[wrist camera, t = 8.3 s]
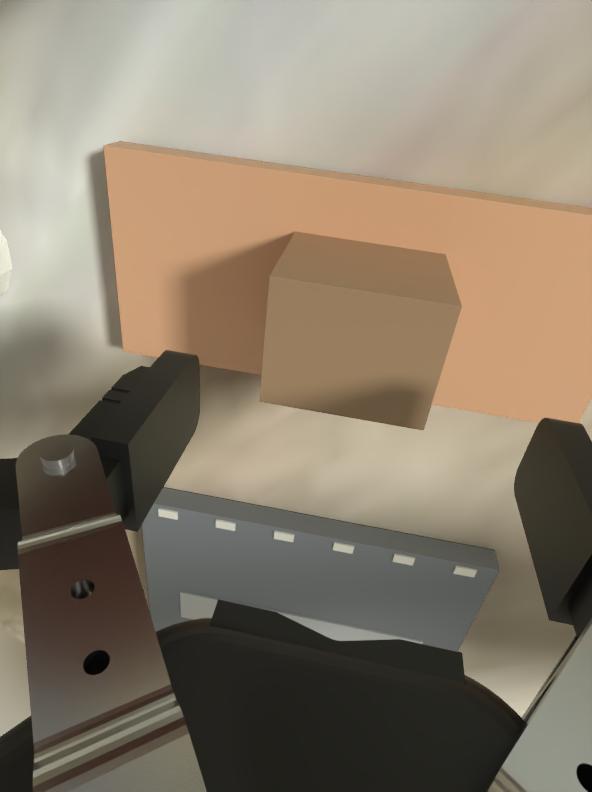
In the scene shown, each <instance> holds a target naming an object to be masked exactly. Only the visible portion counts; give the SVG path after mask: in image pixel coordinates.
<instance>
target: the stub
mask: <svg viewBox="0 0 592 792" xmlns="http://www.w3.org/2000/svg"><path fill="white" fill-rule="evenodd" d="M103 146H104V156H105V167H106V177H107V187H108V198H109V208H110V219H111V229H112V239H113V250H114V260H115V270H116V281H117V291H118V302H119V312H120V322H121V333H122V343H123V352H129V353H135V354H141V355H147V356H153V357H158V358H159V357H160V355H161V354H162V353H163V352H164V351H165V350H170V351H176V352H182V353H188V354H193V355H197V356H198V358H199V365H205V366H211V367H216V368H222V369H228V370H234V371H240V372H246V373H251V374H257V375H262V378H261V391H260V402H265V403H271V404H277V405H282V406H288V407H294V408H299V409H305V410H311V411H316V412H322V413H328V414H333V415H339V416H345V417H351V418H356V419H362V420H368V421H373V422H379V423H385V424H390V425H396V426H402V427H407V428H413V429H419V430H424V427H425V424H426V421H427V417H428V414H429V411H430V408H431V405H437V406H443V407H449V408H455V409H461V410H467V411H472V412H478V413H484V414H490V415H496V416H501V417H507V418H513V419H519V420H525V421H531V422H536V423H539V422H540V421H541V420H542V419H543V418H552V419H557V420H563V421H569V422H575V423H579V421H580V419H581V417H582V415H583V413H584V412H585V410H586V408H587V406H588V404H589V402H590V400H591V398H592V208H586V207H579V206H572V205H565V204H558V203H551V202H544V201H537V200H530V199H523V198H516V197H509V196H502V195H495V194H488V193H481V192H474V191H467V190H460V189H453V188H446V187H439V186H431V185H424V184H417V183H410V182H403V181H396V180H389V179H382V178H375V177H368V176H361V175H354V174H347V173H340V172H333V171H326V170H319V169H312V168H305V167H298V166H291V165H284V164H277V163H270V162H263V161H256V160H249V159H241V158H234V157H227V156H220V155H213V154H206V153H199V152H192V151H185V150H178V149H171V148H164V147H157V146H150V145H143V144H136V143H129V142H122V141H119V142H115V143H111V144H107V145H103Z"/></svg>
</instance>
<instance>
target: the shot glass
mask: <svg viewBox="0 0 592 792" xmlns="http://www.w3.org/2000/svg"><path fill="white" fill-rule="evenodd" d="M11 272H12V264H11V259H10V254H9V249H8V244H7V241H6V239H5V237H4V235H3V234H2V232H1V230H0V297H1V296H2V295H3V294H4V293H5V292H6V291H7V290H8V286H9V281H10V277H11Z"/></svg>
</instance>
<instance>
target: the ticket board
mask: <svg viewBox="0 0 592 792" xmlns="http://www.w3.org/2000/svg"><path fill="white" fill-rule="evenodd" d="M142 532H143V543H144V554H145V564H146V575H147V586H148V596H149V607H150V615H151V619H152V622H153V625H154V629H155V632H156V631H158V630H160V629H163V628H165V627H168V626H170V625H173V624H176V623H180V622H184V621H187V620H194V619H200V618H212V616H213V613H214V610H215V607H216V604H217V601H218V599H219V600H224V601H228V602H233V603H238V604H242V605H247V606H251V607H256V608H260V609H265V610H269V611H274V612H277V613H279V614H281V615H283V616H285V617H287V618H289V619H291V620H294V621H296V622H298V623H300V624H302V625H304V626H306V627H308V628H310V629H312V630H314V631H316V632H318V633H320V634H322V635H324V636H326V637H328V638H331V639H333V640H337V641H358V640H391V639H401V640H406V641H410V642H415V643H420V644H424V645H429V646H433V647H438V648H442V649H447V650H451V651H456V652H457V651H458V649H459V647H460V645H461V643H462V641H463V639H464V637H465V635H466V634H467V632H468V630H469V628H470V626H471V624H472V622H473V620H474V618H475V616H476V614H477V612H478V610H479V608H480V606H481V605H482V603H483V601H484V599H485V597H486V595H487V593H488V591H489V589H490V587H491V585H492V583H493V581H494V579H495V577H496V575H497V574H498V572H499V567H498V562H497V558H496V553H495V550H490V549H485V548H479V547H474V546H469V545H464V544H458V543H453V542H448V541H443V540H437V539H432V538H427V537H422V536H416V535H411V534H406V533H401V532H395V531H390V530H385V529H379V528H374V527H369V526H364V525H358V524H353V523H348V522H343V521H337V520H332V519H327V518H322V517H316V516H311V515H306V514H301V513H295V512H290V511H285V510H280V509H274V508H269V507H264V506H259V505H253V504H248V503H243V502H238V501H232V500H227V499H222V498H217V497H211V496H206V495H201V494H195V493H190V492H185V491H180V490H174V489H169V488H164V487H163V488H162V490H161V492H160V494H159V495H158V497H157V499H156V500H155V502H154V504H153V506H152V507H151V509H150V511H149V513H148V514H147V516H146V518H145V520H144V521H143V523H142Z"/></svg>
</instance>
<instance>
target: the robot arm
mask: <svg viewBox="0 0 592 792" xmlns="http://www.w3.org/2000/svg"><path fill="white" fill-rule="evenodd" d="M199 413H200V365H199V358H198V356H197V355H193V354H188V353H182V352H176V351H170V350H165V351H164V352H163V353H162V354H161V355H160V357H159V358H158V359H157V360H156V361H155V362H154V364H153V365H152V366H151V367H144V366H140V367H138V368H136V369H134V370H132V371H130V372H129V373H127V374H125V375H123V376H122V377H121V378H120V379H119V380H118V381H117V382H116V383H115V385H114V386H113V387H112V389H111V390H109V391H108V392H107V393H106V394H105V395H104V396H103V398H102V401H99V402H98V403H97V404H96V405H95V406H94V407H93V408H92V409H91V411H90V412H89V413H88V414H87V415H86V416H85V417H84V418H83V419H82V420H81V421H80V423H79V424H78V425H77V426H76V427H75V428H74V429H73V430H72V431H71V432H70V433H69V434H68V435H56V436H51V437H47V438H44V439H41V440H39V441H37V442H35V443H33V444H31V445H30V446H28V447H27V448H26V449H24V450H23V451H22V452H21V453H20V455H19V456H18V458H13V459H0V570H8V569H19V572H20V585H21V597H22V609H23V621H24V633H25V645H26V657H27V668H28V682H29V693H30V706H31V716H30V717H28V718H27V719H25V720H24V721H23V722H21V723H20V724H18V725H17V726H15V727H14V728H13V729H11V730H10V731H8V732H7V733H6V734H4V735H3V736H1V737H0V792H592V441H591V440H590V438H589V436H588V434H587V432H586V430H585V428H584V427H583V425H582V424H580V423H575V422H569V421H563V420H557V419H552V418H543V419H542V420H541V421H540V422H539V424H538V426H537V428H536V430H535V432H534V434H533V436H532V439H531V441H530V443H529V445H528V447H527V450H526V452H525V454H524V456H523V458H522V461H521V463H520V465H519V467H518V470H517V473H516V477H515V483H514V492H515V498H516V501H517V505H518V509H519V512H520V516H521V519H522V523H523V527H524V530H525V534H526V538H527V541H528V545H529V548H530V552H531V556H532V559H533V563H534V567H535V570H536V574H537V577H538V581H539V585H540V588H541V592H542V596H543V599H544V603H545V606H546V610H547V614H548V617H549V620H551V621H556V622H561V623H566V624H570V625H573V626H574V629H575V632H576V636H575V637H574V639H573V640H572V641H571V643H570V644H569V646H568V647H567V649H566V650H565V652H564V654H563V655H562V657H561V658H560V660H559V661H558V663H557V664H556V666H555V667H554V669H553V671H552V672H551V674H550V675H549V677H548V678H547V680H546V681H545V683H544V684H543V686H542V687H541V689H540V691H539V692H538V694H537V695H536V697H535V698H534V700H533V701H532V703H531V704H530V706H529V707H528V709H527V710H526V712H525V713H524V715H523V716H522V718H521V717H520V716H519V715H518V714H517V713H516V712H515V711H514V710H513V709H512V708H511V707H510V706H509V705H508V704H507V703H505V702H504V701H503V700H502V699H501V698H500V697H498V696H497V695H496V694H494V693H493V692H492V691H490V690H489V689H488V688H486V687H485V686H483V685H482V684H480V683H478V682H477V681H475V680H473V679H472V678H470V677H468V676H466V675H464V667H463V658H462V653H460V652H456V651H451V650H447V649H442V648H438V647H433V646H429V645H424V644H420V643H415V642H410V641H406V640H401V639H391V640H358V641H337V640H333V639H331V638H328V637H326V636H324V635H322V634H320V633H318V632H316V631H314V630H312V629H310V628H308V627H306V626H304V625H302V624H300V623H298V622H296V621H294V620H291V619H289V618H287V617H285V616H283V615H281V614H279V613H277V612H274V611H269V610H265V609H260V608H256V607H251V606H247V605H242V604H238V603H233V602H228V601H224V600H219V599H218V601H217V604H216V607H215V610H214V613H213V616H212V618H200V619H194V620H187V621H184V622H180V623H176V624H173V625H170V626H168V627H165V628H163V629H160V630H158V631H156V632H155V629H154V625H153V622H152V619H151V615H150V612H149V609H148V605H147V602H146V599H145V595H144V592H143V589H142V585H141V582H140V578H139V575H138V572H137V568H136V565H135V562H134V558H133V555H132V552H131V548H130V545H129V542H128V538H127V535H126V532H125V529H127V530H132V531H137V532H138V530H139V528H140V527H141V525H142V523H143V521H144V520H145V518H146V516H147V514H148V513H149V511H150V509H151V507H152V506H153V504H154V502H155V500H156V499H157V497H158V495H159V494H160V492H161V490H162V488H163V487H164V485H165V483H166V481H167V480H168V478H169V476H170V474H171V473H172V471H173V469H174V467H175V466H176V464H177V462H178V460H179V459H180V457H181V455H182V453H183V452H184V450H185V448H186V446H187V445H188V443H189V441H190V440H191V438H192V436H193V434H194V432H195V430H196V427H197V424H198V419H199Z"/></svg>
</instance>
